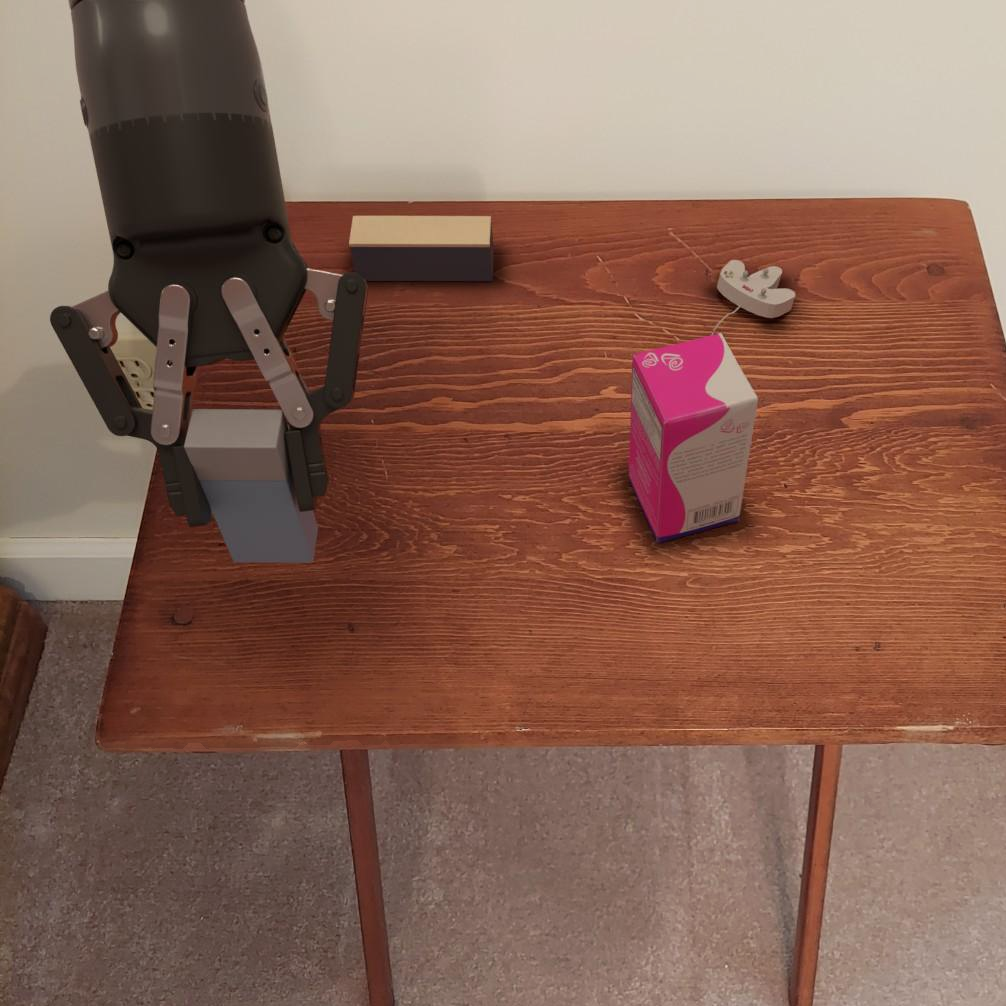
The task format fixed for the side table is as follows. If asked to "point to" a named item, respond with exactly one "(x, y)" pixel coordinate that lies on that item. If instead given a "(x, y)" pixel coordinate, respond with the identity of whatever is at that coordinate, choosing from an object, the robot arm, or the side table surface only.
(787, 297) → the game controller
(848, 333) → the side table surface
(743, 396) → the supplement box
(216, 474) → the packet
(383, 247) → the stand
